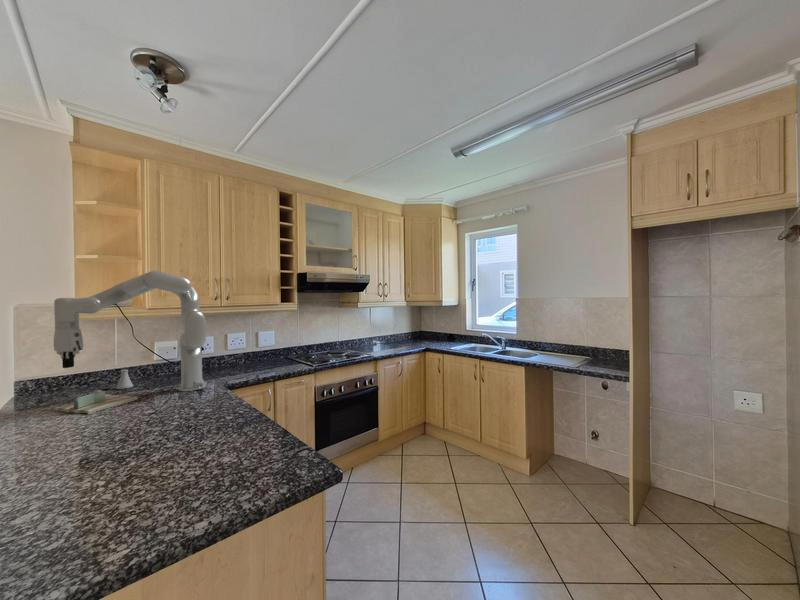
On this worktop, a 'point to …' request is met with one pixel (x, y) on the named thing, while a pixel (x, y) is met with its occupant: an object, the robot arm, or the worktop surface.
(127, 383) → the flask
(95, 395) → the lock lever
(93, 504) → the worktop surface
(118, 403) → the lock base
